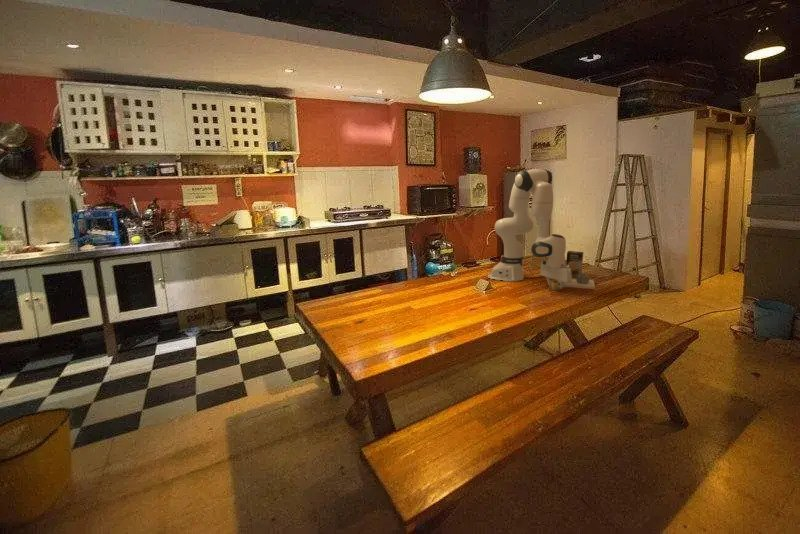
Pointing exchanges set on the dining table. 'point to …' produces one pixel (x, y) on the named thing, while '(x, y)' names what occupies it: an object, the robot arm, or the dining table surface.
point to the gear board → (581, 282)
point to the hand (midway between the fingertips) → (555, 286)
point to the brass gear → (554, 285)
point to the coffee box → (575, 262)
